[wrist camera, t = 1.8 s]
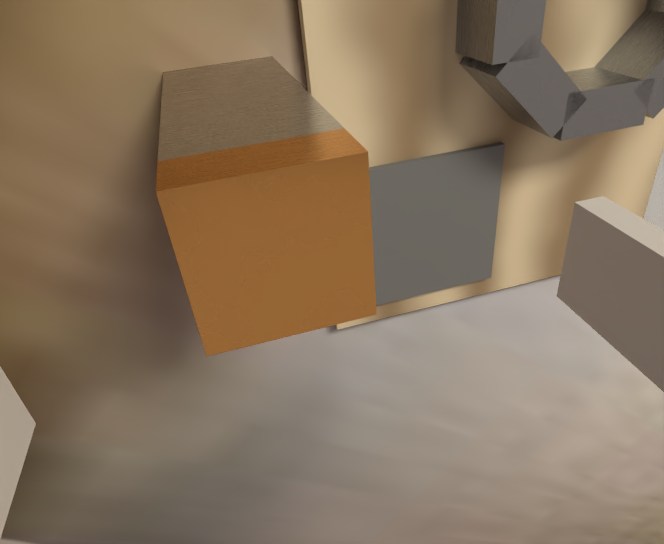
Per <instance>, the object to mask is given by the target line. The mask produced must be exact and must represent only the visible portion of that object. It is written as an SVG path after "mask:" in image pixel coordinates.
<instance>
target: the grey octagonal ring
mask: <svg viewBox="0 0 664 544" xmlns="http://www.w3.org/2000/svg"><path fill="white" fill-rule="evenodd" d="M545 8H546V0H458V2H457V25H456V49H455V52H456V53H458V54H461V55H464V57H463V59H462V60H461V61H460V62H459V64H460V65H461V66H462V67H463V68H464V69H465V70H466V71H467V72H468V73H469V74H470V75H471V76H472V77H473V79H474V80H475V81H476V82H477V83H478V84H479V85H480V86H481V87H482V88H483V89H484V90H485V91H486V92H487V93H488V94H489V95H490V96H491V97H492V98H493V100H494V101H495V102H496V103H497V104H498V105H499V106H500V107H501V108H502V109H503V110H504V111H505V112H506V113H507V114H508V115H509V116H510V117H511V118H512V120H515V121H517V122H519V123H521V124H523V125H525V126H527V127H529V128H531V129H533V130H535V131H537V132H540V133H542V134H544V135H546V136H548V137H550V138H553V137H554V138H556V139H558V140H560V141H563V140H568V139H573V138H578V137H583V136H588V135H594V134H599V133H604V132H609V131H614V130H619V129H624V128H629V127H634V126H640V125H643V124H644V120H645V116H647V117H650V118H653V119H654V117H655V116H656V115H657V114H658V113H659V112H660V111H661V110H662V109H663V108H664V0H647V4H646V9H645V11H644V12H643V13H642V14H641V15H640V16H639V18H638V19H637V20H636V21H635V22H634V23H633V24H632V25H631V27H630V28H629V29H628V30H627V31H626V32H625V33H624V34H623V36H622V37H621V38H620V39H619V40H618V41H617V42H616V43H615V45H614V46H613V47H612V48H611V49H610V50H609V51H608V52H607V53H606V55H605V56H604V57H603V58H602V59H601V60H600V61H599V62H598V64H597V65H596V66H595V67H592V68H586V69H580V70H574V71H568V72H565V71H564V70H563V69H562V68H561V66H560V65H559V64H558V62H557V61H556V60H555V59H554V57H553V56H552V55H551V54H550V52H549V51H548V50H547V49H546V47H545V46H544V45H543V44H542V42H541V39H542V31H543V23H544V15H545Z"/></svg>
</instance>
